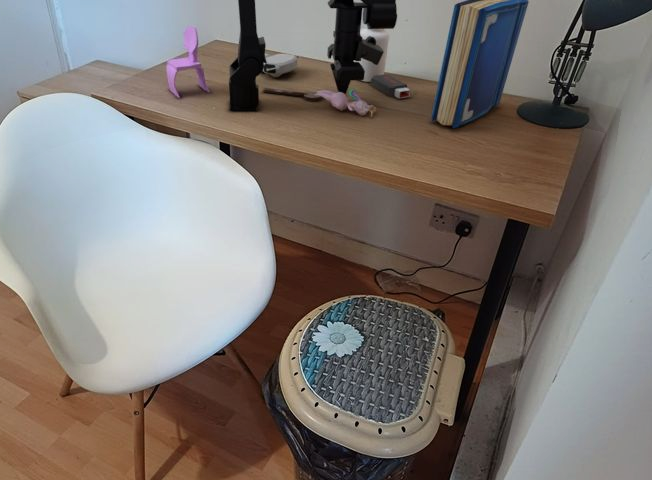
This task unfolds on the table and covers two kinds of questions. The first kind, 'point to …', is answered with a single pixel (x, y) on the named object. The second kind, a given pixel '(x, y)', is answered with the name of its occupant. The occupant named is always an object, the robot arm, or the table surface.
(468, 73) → the book
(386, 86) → the usb drive
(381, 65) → the pill bottle
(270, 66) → the robot toy
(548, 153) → the table surface
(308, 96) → the spoon
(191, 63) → the toy chair
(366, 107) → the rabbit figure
